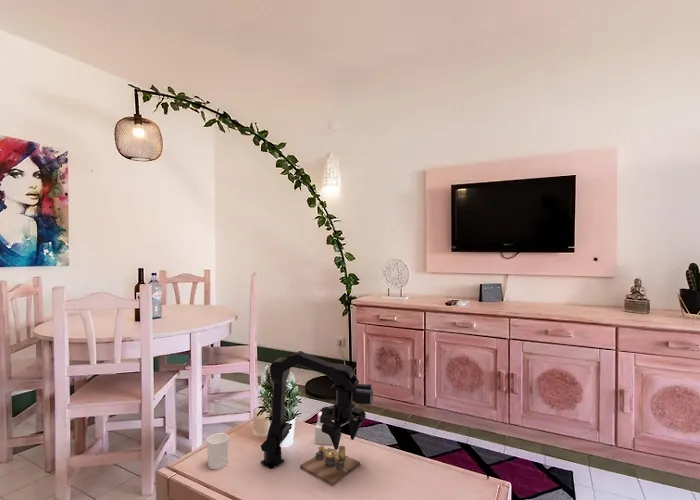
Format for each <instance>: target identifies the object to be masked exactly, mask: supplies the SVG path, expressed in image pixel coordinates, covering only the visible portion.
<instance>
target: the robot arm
mask: <svg viewBox="0 0 700 500" xmlns="http://www.w3.org/2000/svg"><path fill="white" fill-rule="evenodd" d="M297 365H299V366H302V367H304V368H306V369H309V370H312V371H315V372H317V373H320V374H323V375H325V376H326V377H328V378H329V379H330V380H331V381H333V382H334V384H333V385H332V386H331V387H330V390H334V391H336V402H335V403H333V405H329V406H324V407H322V408H321V411H322V416H323V417H326V418H328V417H332V421H328V422H326V423H324V424H323V425H322V432H323V433H326V434H328V435H329V436H330V438H331V441H332V446H333V449H335V450H336V451H337V450H339V445H340V442H341V438H342V433H341V431H342V427H343V426H345V425H346V424H348V423H349V435H350V440H354V439H355V438H356V435H357V434H358V431H359V429H360V427H361V425H362V423H364V420H365V419H367V417H366V411H365V410H364V409H362V408H357V407H355V406H356V405H355V404H358V405H359V404H360V405H373V403H374V402H373V400H374V390H373V387H372V384H370V383H369V384H361V383H360V381H359V379H358V378H357V376H356V374H355V373H354V369H353V368H352V366H351V365H348V364H344V363H333V362H329V361H326V360H323V359H321V358H319V357H316V356H313V355H311V354H308V353H305V352H304V351H302V350H300V351H299V350H298V351H297V352H295V353H292V354H291V355H289V356H287V357H284V356H283V357H279V358H277V359H276V360H275V361H274V362H272V363H271V364H270V365H269V375H270V379H271V381H272V384H273V389H272V408H271V409H272V412H271V422H270V425H269V428H268V430H267V435H266V439H265V440H264V442H262V444H261V445H260V449H261V452H263V459H262V460H261V461H260V464H262V465H264V466H265V467H267V468H269V469H273V468H276V467H278V466H279V465H281V464H283V463H284V462H285V459H283V458H282V447H281V444H282V443H283V442H284V441H285V439H286V438H287V437H288V435H289V434H290V422H287V421H286V419H285V409H286V408H285V407H286V385H287V380H288V377H289V374H290V371H291V368H293V367H294V366H297ZM353 402H354V403H355V404H354V403H353ZM334 420H336V421H334ZM333 421H334V422H333Z"/></svg>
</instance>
